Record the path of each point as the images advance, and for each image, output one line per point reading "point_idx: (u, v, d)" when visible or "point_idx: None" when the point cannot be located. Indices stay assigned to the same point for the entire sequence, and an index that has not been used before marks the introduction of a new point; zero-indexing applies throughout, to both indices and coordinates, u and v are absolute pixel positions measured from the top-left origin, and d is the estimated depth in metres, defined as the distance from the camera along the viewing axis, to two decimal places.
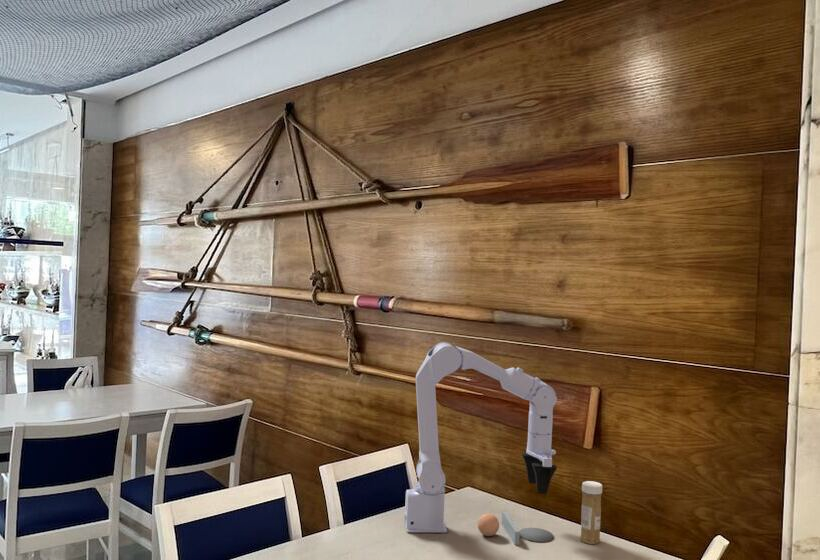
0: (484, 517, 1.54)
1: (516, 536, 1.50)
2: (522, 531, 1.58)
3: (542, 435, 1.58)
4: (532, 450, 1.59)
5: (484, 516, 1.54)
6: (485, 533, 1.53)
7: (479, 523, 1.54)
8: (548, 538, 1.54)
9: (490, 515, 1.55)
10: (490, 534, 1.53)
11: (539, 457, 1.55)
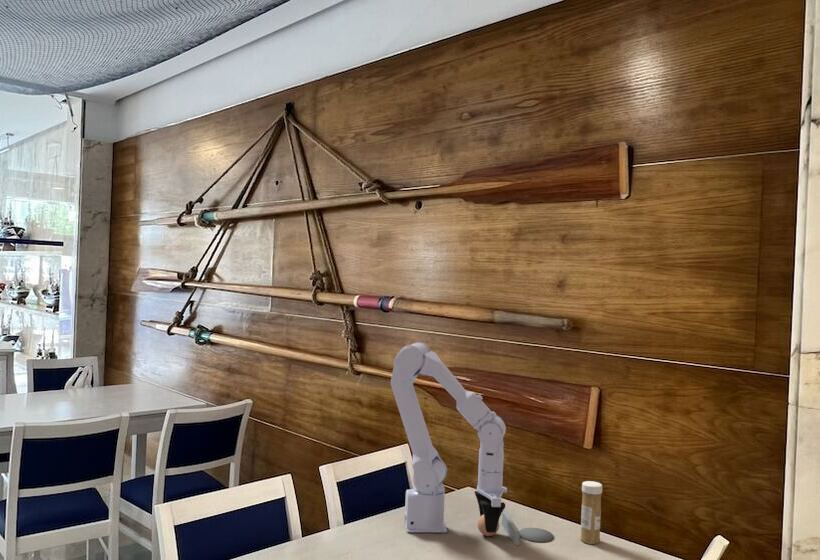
0: None
1: (516, 536, 1.50)
2: (522, 531, 1.58)
3: (492, 473, 1.52)
4: (482, 488, 1.53)
5: None
6: (485, 533, 1.53)
7: (479, 523, 1.54)
8: (548, 538, 1.54)
9: None
10: (490, 534, 1.53)
11: (488, 496, 1.50)
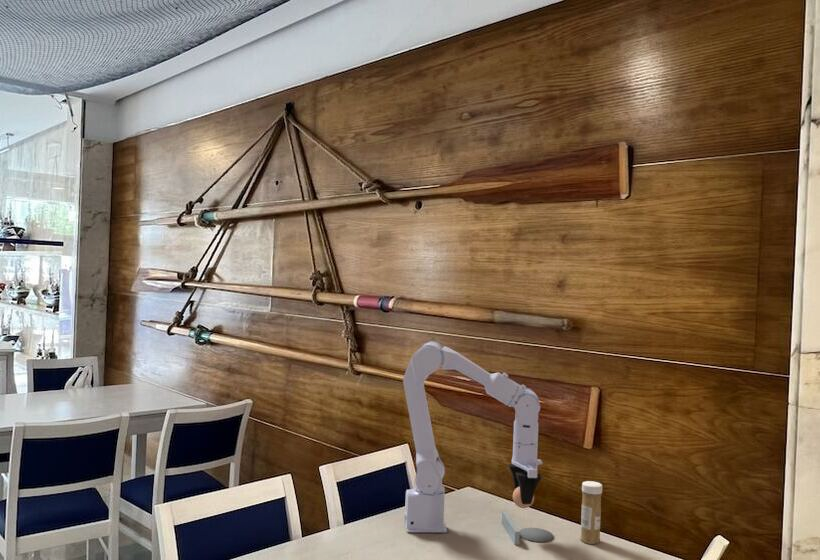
0: (519, 489, 1.55)
1: (516, 536, 1.50)
2: (522, 531, 1.58)
3: (527, 445, 1.53)
4: (517, 460, 1.54)
5: (519, 488, 1.55)
6: (520, 505, 1.54)
7: (514, 495, 1.55)
8: (548, 538, 1.54)
9: None
10: (525, 506, 1.54)
11: (524, 468, 1.51)
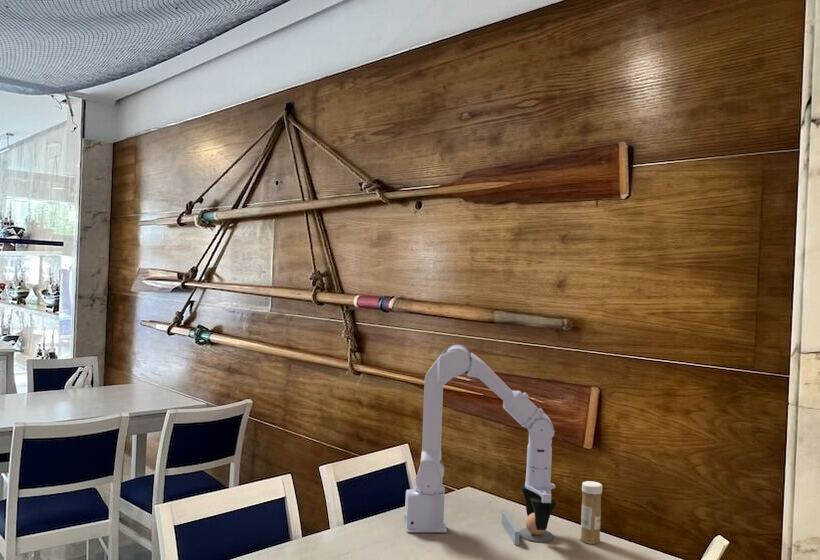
0: (533, 516, 1.55)
1: (516, 536, 1.50)
2: (522, 531, 1.58)
3: (541, 469, 1.53)
4: (531, 484, 1.54)
5: (532, 515, 1.55)
6: (534, 532, 1.54)
7: (527, 522, 1.55)
8: (548, 538, 1.54)
9: None
10: (539, 533, 1.54)
11: (538, 492, 1.51)
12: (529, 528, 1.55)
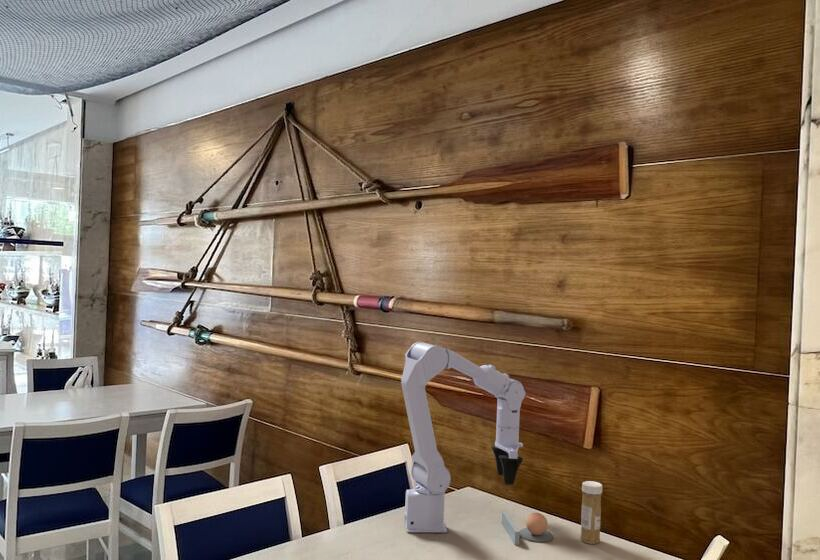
0: (533, 516, 1.55)
1: (516, 536, 1.50)
2: (522, 531, 1.58)
3: (509, 428, 1.65)
4: (500, 443, 1.66)
5: (533, 515, 1.55)
6: (534, 532, 1.54)
7: (528, 522, 1.55)
8: (548, 538, 1.54)
9: (539, 514, 1.55)
10: (539, 533, 1.54)
11: (506, 449, 1.63)
12: (529, 528, 1.55)
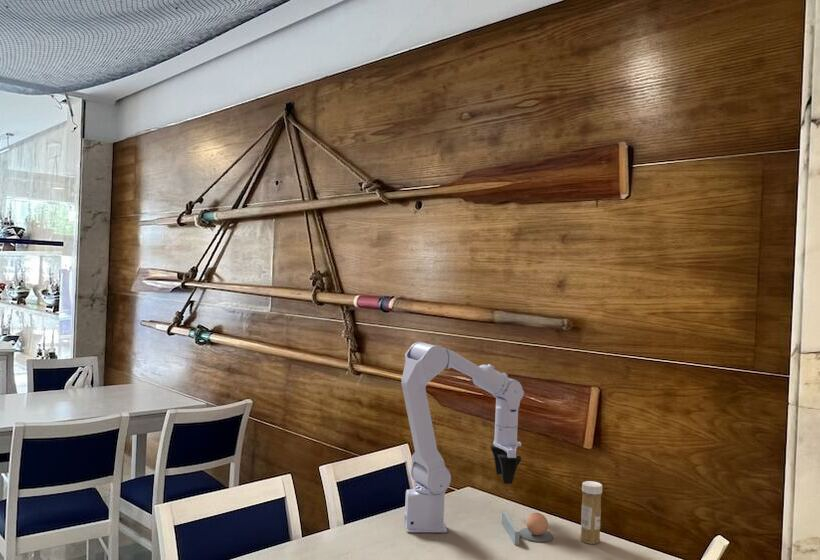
0: (534, 516, 1.55)
1: (516, 536, 1.50)
2: (522, 531, 1.58)
3: (508, 428, 1.66)
4: (498, 442, 1.67)
5: (533, 516, 1.55)
6: (534, 532, 1.54)
7: (528, 522, 1.55)
8: (548, 538, 1.54)
9: (539, 515, 1.55)
10: (539, 534, 1.54)
11: (504, 448, 1.63)
12: (529, 528, 1.55)
